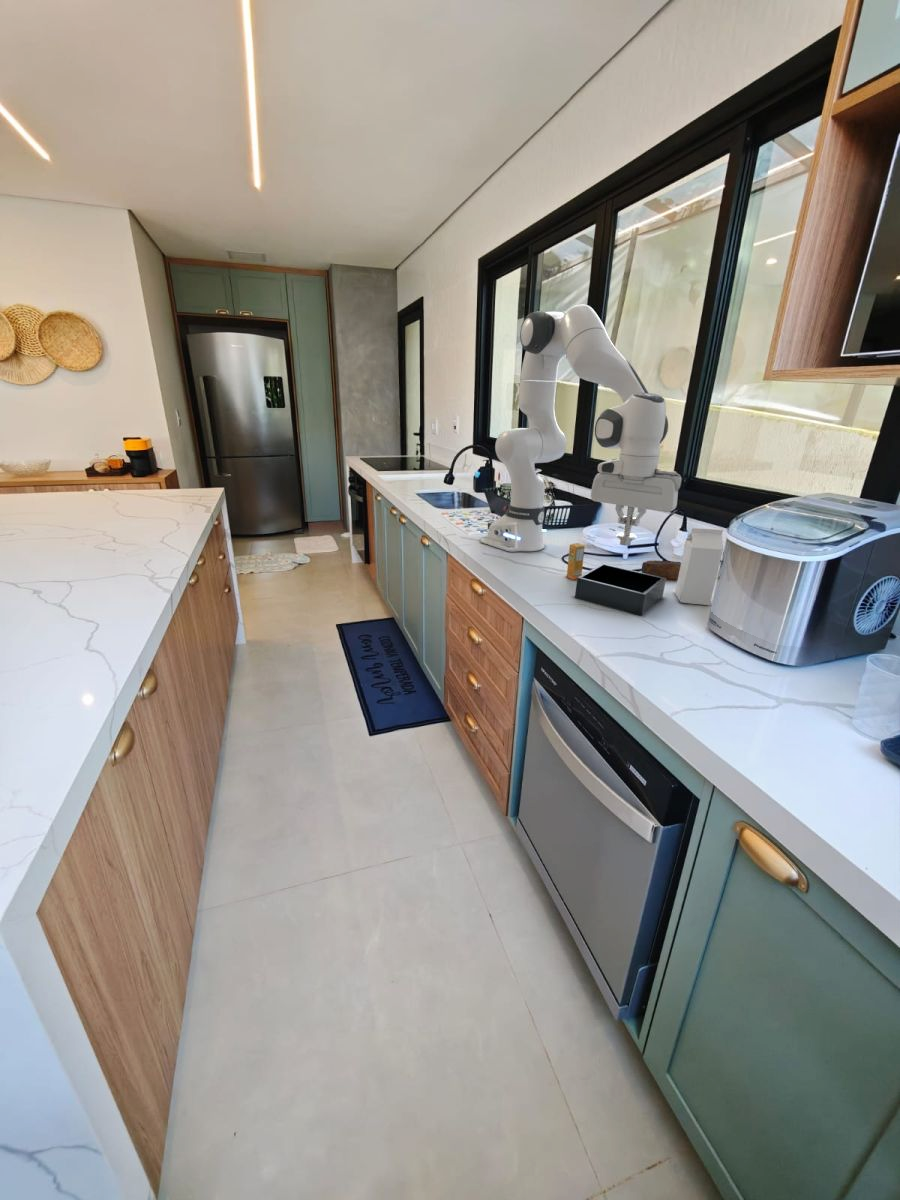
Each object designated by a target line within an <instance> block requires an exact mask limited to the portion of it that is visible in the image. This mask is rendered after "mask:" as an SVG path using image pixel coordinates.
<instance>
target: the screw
mask: <svg viewBox="0 0 900 1200" xmlns="http://www.w3.org/2000/svg"><path fill="white" fill-rule="evenodd" d="M635 509H636V507H629V506H627V508H626V513H625V516H626V521H625V523H624V524H623V525H624V527H623V530H622V531H623V532H618V533H617V534H616V535H615V537H616V538H617V539H619V545H620V546H625V547H627V546H628V547H629V546H631V543H632V541H635V540H637V538H638V537H637V536H636V535H635V534H634V533H632V528H633V527H632V525H631V523H632V521H631V520H632V518H634V515H635Z"/></svg>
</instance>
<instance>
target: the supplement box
mask: <svg viewBox="0 0 900 1200" xmlns="http://www.w3.org/2000/svg"><path fill="white" fill-rule="evenodd" d="M585 547H586V546H585V545H584V544H581V543H579V542H576V543H570V544H569V550H568V559H567V570H566V578H568V579H570V580H572V581H575V580H576V581H577V578H578V577H579V576H581V575H583V568H584V567H583V565H584V555H585Z"/></svg>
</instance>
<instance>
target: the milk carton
mask: <svg viewBox="0 0 900 1200" xmlns="http://www.w3.org/2000/svg"><path fill="white" fill-rule="evenodd" d="M723 532H724V531H723V529H715V528H703V527H702V528H700V527H691V531H690V533H689V535H688V536H687V537H686V539H685V543H684V548H683V553H682V557H681V561H680V562H681V566H680V571H679V576H678V580H676V586H675V591H674V593H675V595H676V597H677V599H678V601H679V602H680V603H682V604H690V605H691V604H692V605H704V606H710V605H711V602H712V598H713V593H714V589H715V585H716V581H717V577H718V573H719V572H718V571H719V569H720V566H721V560H722V555H723V552H724V541H723Z"/></svg>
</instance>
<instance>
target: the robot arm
mask: <svg viewBox="0 0 900 1200" xmlns="http://www.w3.org/2000/svg"><path fill="white" fill-rule="evenodd" d="M519 339H520V344H521V346H522V349H523V350H524V351H525V353H524V356H523V361H522V365H521V372H520V379H519V391H518V401H517V405H518V408H519V410H520V411H521V412H522V413H523V414H524V415H526V417H527V421H528V427H519V428H518V427H516V428H511V429H507V430H504V431H502V432H501V433H499V434H498V436H497V438H496V440H495V445H494V449H495V454H496V457H497V459H498V460H499V461H500V462H501V463H503V465H504V467H505V468H506V469H507V472H508V474H509V478H510V502H509V504H507V505H504V506H503V509H502V510H503V511H505V513H504V514H503V515H502V516H501V517H499V518H498V519H496V520H494V521H491V522H488V523H487V530H488V531H487V534H486V535H484V536H482V537H481V539H480V543H482V544H486V545H488V546H491V547H494V548H497V549H500V550H503V551H506V552H509V553H511V552H512V553H514V552H515V553H516V552H537V551H541V550H543V549H544V548H545V542H544V537H543V536H544V535H543V532H547V529H543V523H544V518H545V506H544V503H545V501H544V500H545V491H546V483H545V481H544V479H542V477H540V476H538V475H537V472H536V467H535V466H536V465H535V464H544V463H550V462H553V461H556V460H559V459H561V458H562V457H563V456H564V455H565V452H566V450H567V447H568V445H567V444H568V442H567V437H566V434H564V432H563V431H562V430H561V429H560V426H559V425H558V422H557V417H556V413H555V401H556V390H557V381H558V369H559V364H560V362H561V360H562V359H563V358H566V359H567V362H568V364H569V367H570V368H571V370H572V371H573V373H574V374H575V375H576V376H577V377H578V378H580V379H581V380H584V381H586V382H591V383H594V384H598V385H601V386H603V387H606V388H608V389H610V390H612V391H614V392H615V393H616V394H617V395H618V396H619V397H620V399H621V401H622V402H623V403H620V404H619V405H616V406H613V407H610V408H606V409H604V410H603V411H602V412H600V414H599V416H598V417H597V419H596V422H595V425H594V437H595V440H596V442H597V443H598V445H599V446H601V448H605V449H612V450H615V449H616V450H618V449H620V451H619V456H618V458H613V459H610V460H606V461H603V462H600V463H598V465H597V472H598V473H597V474H596V475H595V476H594V478H593V482H592V486H591V489H590V498H591V500H592V501H593V502H597V503H603V504H609V505H610V504H611V505H615V512H616V514H617V517H618V520H617V523H618V524H621V525H625V524H624V523H625V521H626V515H625V514H624V511H623V510H624V509H625V507H628V506H629V507H634V508H635V509H636V508H637V513H638V514H637V516H636V517H634V516H633V518H632V520H631V521H632V523H631V525H632V526H633V527H639V526H640V523H641V519H642V518H643V517H644V516H645V514H646V513H647V511H648V510H649V511H654V512H655V511H657V512H662V513H671V512H672V511H674V510H676V508H677V506H678V496H679V490H680V488H681V486H682V476H681V475H680V474H679V473H678V472H677V471H675V470H665V469H659V468H658V466H659V460H660V454H661V453H660V452H661V451H660V445H661V443H662V442H663V441H664V440H665V438H666V436H667V435H668V432H669V420H668V417H667V403H666V399H665V398H664V397H663V396H662V395H660V394H656V393H649V392H648V389H647V388H646V386H645V384H644V383H643V381H642V380H641V378H640V376H639V374H638V373H637V371H636V370H635V368H634V367H633V365H632V364H631V363H630V361H629V360H627V359H626V358H625V357H624V355H622V354H621V353H620V351H619V350H618V349H617V348H616V347H615V345H614V343H613V342H612V340H611V338H610V336H609V334H608V332H607V330H606V327H605V325H604V323H603V321H602V320H601V319H600V317H599V315H598V314H597V312H596V311H595V310H594V308H592V307H591V305H588V304H582V303H581V304H576V305H573V306H572V307H570V308H569V309H568V310H567V311H543V310H538V311H533V312H530V313H528V314H527V315H526V316H525V318H524V319H523V320H522V324H521V326H520V332H519ZM632 526H631V527H632Z"/></svg>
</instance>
